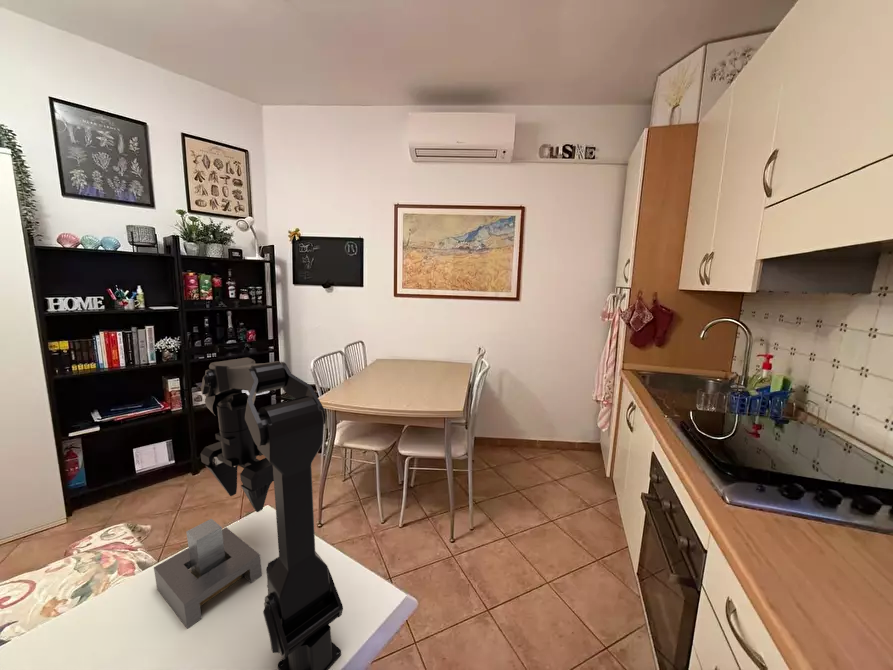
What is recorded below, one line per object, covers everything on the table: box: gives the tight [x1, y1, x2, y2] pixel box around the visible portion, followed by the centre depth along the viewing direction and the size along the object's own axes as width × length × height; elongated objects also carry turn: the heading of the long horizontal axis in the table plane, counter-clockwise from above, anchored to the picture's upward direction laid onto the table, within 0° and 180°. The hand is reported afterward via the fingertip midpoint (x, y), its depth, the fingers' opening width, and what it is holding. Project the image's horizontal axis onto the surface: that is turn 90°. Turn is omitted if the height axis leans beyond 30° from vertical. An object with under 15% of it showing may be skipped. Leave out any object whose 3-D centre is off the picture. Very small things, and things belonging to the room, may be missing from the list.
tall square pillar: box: [186, 518, 225, 579], centre depth 62 cm, size 4×4×11 cm
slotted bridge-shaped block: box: [153, 527, 263, 629], centre depth 63 cm, size 13×12×4 cm
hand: (245, 502), depth 66 cm, fingers open, 9 cm apart
